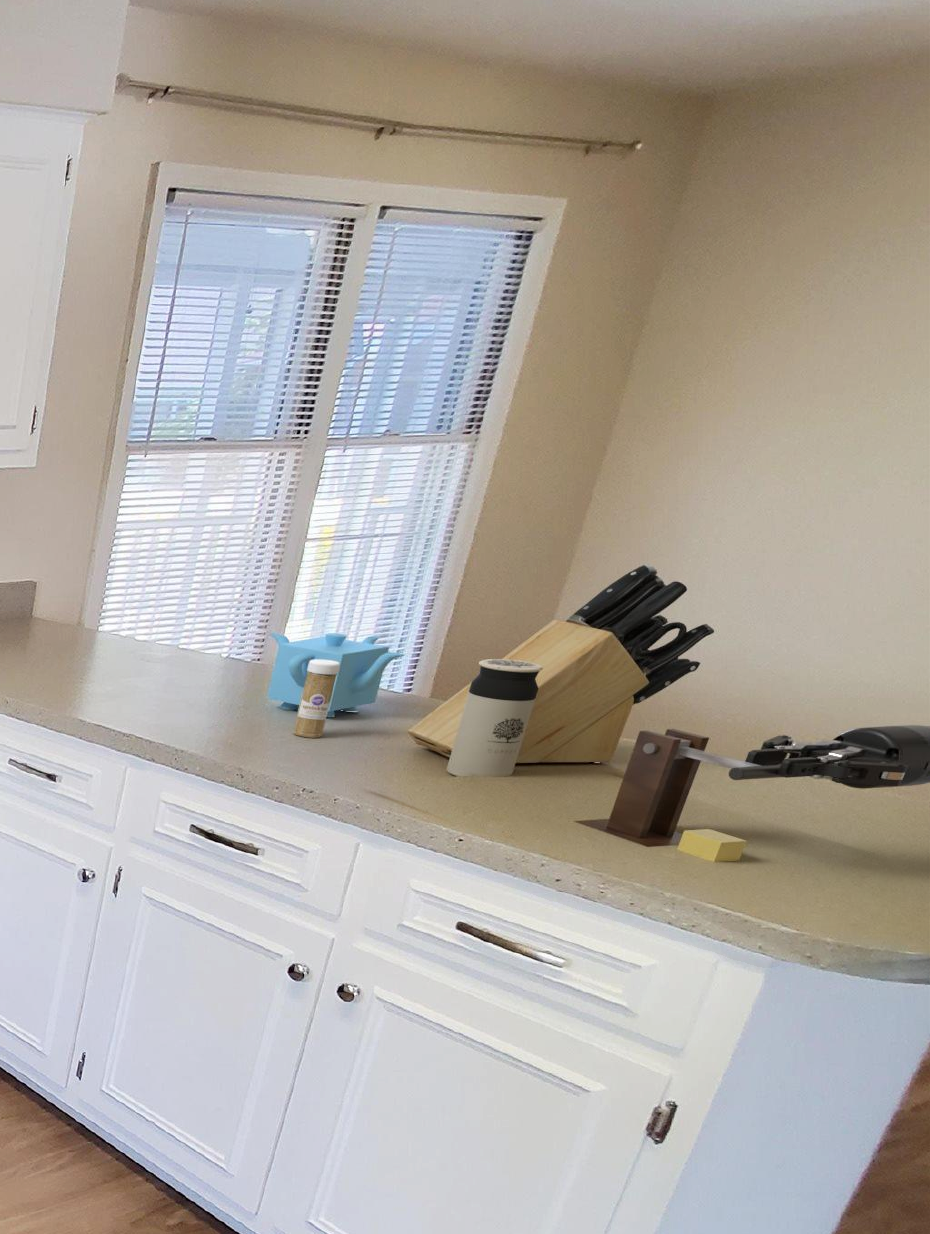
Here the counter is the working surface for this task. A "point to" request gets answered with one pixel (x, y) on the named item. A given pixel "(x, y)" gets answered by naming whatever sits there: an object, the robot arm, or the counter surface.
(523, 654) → the knife block
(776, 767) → the lever
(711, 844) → the butter
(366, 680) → the teakettle
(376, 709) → the counter surface
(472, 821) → the counter surface
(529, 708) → the travel mug
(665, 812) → the stand
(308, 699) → the sprinkles bottle
